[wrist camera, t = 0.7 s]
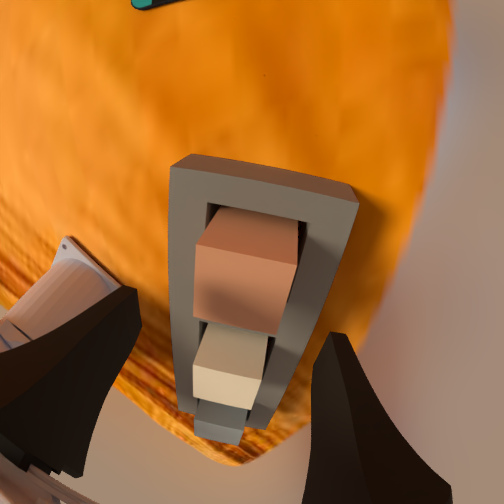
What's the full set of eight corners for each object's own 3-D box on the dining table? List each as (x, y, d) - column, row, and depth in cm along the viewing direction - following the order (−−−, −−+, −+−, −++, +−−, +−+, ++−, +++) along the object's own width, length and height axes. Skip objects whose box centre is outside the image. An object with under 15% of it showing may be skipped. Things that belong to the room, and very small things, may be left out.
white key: (259, 361, 21) (250, 409, 17) (208, 350, 21) (193, 396, 17) (269, 326, 19) (261, 380, 15) (211, 314, 19) (192, 364, 15)
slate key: (245, 407, 25) (238, 445, 21) (205, 397, 25) (194, 435, 22) (251, 387, 23) (243, 430, 19) (207, 377, 23) (194, 419, 20)
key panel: (268, 406, 28) (265, 429, 25) (186, 387, 28) (178, 410, 25) (349, 184, 15) (359, 203, 12) (191, 153, 15) (170, 166, 13)
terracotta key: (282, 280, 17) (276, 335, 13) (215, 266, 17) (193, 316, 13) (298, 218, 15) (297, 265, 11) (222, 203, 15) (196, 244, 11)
